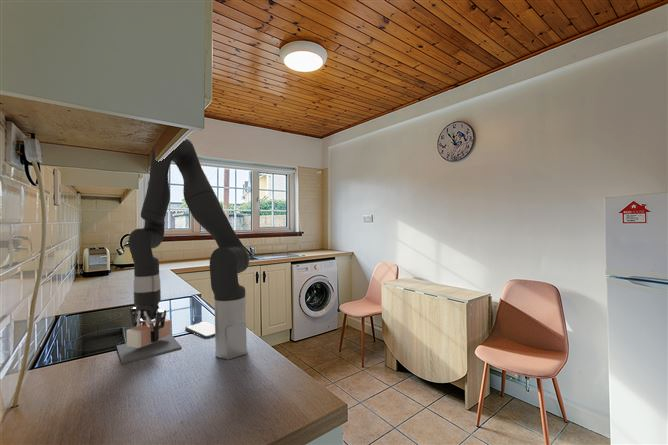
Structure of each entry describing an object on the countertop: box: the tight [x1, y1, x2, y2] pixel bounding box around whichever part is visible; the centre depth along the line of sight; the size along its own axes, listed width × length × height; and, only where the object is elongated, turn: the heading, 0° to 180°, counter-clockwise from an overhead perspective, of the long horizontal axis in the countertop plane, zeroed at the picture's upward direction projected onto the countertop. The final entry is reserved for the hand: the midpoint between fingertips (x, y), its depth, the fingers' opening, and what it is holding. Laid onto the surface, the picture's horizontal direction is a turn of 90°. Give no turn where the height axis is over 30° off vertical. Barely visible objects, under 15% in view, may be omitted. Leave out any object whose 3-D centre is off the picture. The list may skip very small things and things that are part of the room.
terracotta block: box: [126, 318, 172, 348], centre depth 101 cm, size 5×5×12 cm
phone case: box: [185, 320, 215, 339], centre depth 116 cm, size 9×2×16 cm
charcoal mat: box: [116, 333, 183, 365], centre depth 101 cm, size 16×16×1 cm
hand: (148, 340), depth 101 cm, fingers closed on terracotta block, 5 cm apart
